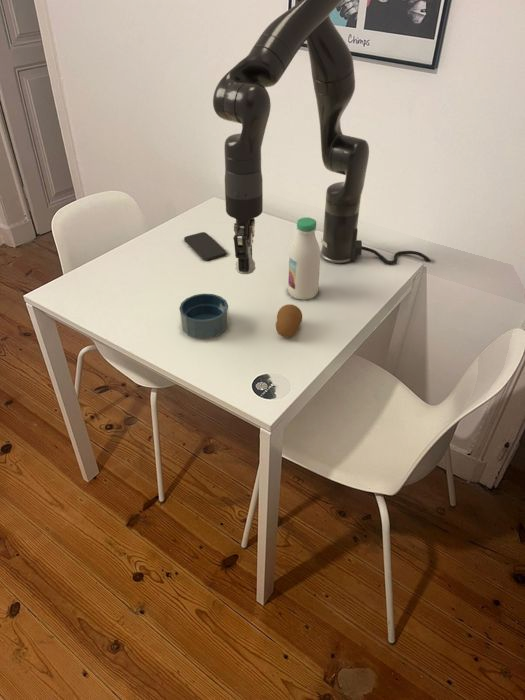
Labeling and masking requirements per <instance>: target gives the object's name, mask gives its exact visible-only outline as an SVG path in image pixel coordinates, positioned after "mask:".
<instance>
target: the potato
mask: <svg viewBox="0 0 525 700" xmlns="http://www.w3.org/2000/svg"><path fill="white" fill-rule="evenodd" d="M302 322H303V312H302V310H301V309H300V307H299V306H297V305H294V304H291V303H290V304H288V303H287V304H285V305H283V306H281V307H280V308H279V310H278V311H277V314H276V322H275V330H276V333H277V334H278V335H279V336H280V337H282V338H285V339H290V338H293V337H294V336H296V335H297V334H298V332H299V329H300V326H301V324H302Z"/></svg>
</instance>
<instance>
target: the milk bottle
mask: <svg viewBox="0 0 525 700" xmlns="http://www.w3.org/2000/svg"><path fill="white" fill-rule="evenodd" d="M296 231H297V232H296V236H295V238H294V240H293V242H292V244H291V246H290V250H289V259H288V283H287V284H288V285H287V286H288V288H287V290H288V294H289V295H290V296H291V297H292V298H294V299H297V300H310V299H313V298H314V297H316V296H317V294H318V293H319V284H320V283H319V281H320V268H321V247H320V245H319V242H318V240H317V237H316V231H317V221H316V220H315V219H314V218H312V217H301V218H299V219H298V220H297V221H296Z"/></svg>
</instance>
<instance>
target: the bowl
mask: <svg viewBox="0 0 525 700" xmlns="http://www.w3.org/2000/svg"><path fill="white" fill-rule="evenodd" d="M178 310H179V316H180V325H181V329H182V331H183V332H184V333H185V334H186V335H187V336H190V337H193V338H196V339H210V338H215V337H218V336H220V335H221V334H223V333H225V331H226V330H227V329H228V328H229V326H230V313H229V304H228V302H227V300H226V299H225V298H224V297H222V296H220V295H217V294H214V293H197V294H194V295H191V296H189V297H186V298H185V299H184V300H183V301H182V302H180V305H179V308H178Z"/></svg>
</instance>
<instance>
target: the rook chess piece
mask: <svg viewBox="0 0 525 700" xmlns="http://www.w3.org/2000/svg"><path fill="white" fill-rule="evenodd" d="M248 241H249V240H247V242H248ZM249 253H250V256H249V271H248V272H240V271H239V264H238V260H237V261H235V270H236V272H237V273H239V274H241V275H250V274H253V273H254V271H255V270H256V262H255V261H254V259H253V255H252V256H251V246H250V247H249Z"/></svg>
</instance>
